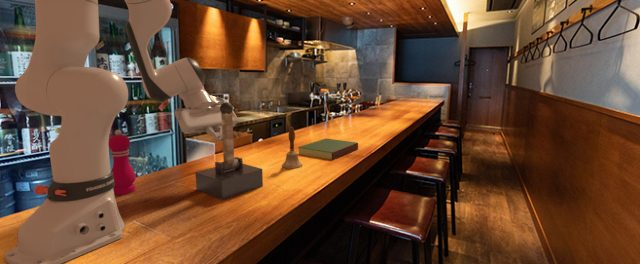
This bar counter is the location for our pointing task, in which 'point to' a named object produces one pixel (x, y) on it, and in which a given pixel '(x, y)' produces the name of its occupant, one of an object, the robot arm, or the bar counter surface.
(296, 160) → the hand bell
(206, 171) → the base
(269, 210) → the bar counter surface
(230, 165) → the lever
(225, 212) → the bar counter surface
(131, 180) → the pepper mill
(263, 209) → the bar counter surface
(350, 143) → the hardcover book
